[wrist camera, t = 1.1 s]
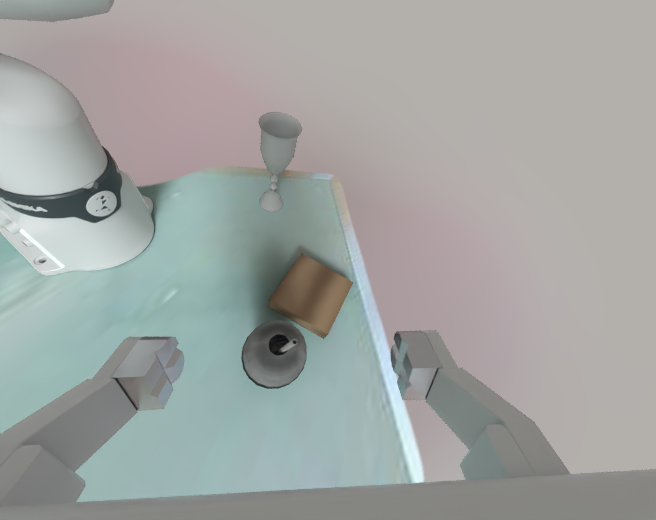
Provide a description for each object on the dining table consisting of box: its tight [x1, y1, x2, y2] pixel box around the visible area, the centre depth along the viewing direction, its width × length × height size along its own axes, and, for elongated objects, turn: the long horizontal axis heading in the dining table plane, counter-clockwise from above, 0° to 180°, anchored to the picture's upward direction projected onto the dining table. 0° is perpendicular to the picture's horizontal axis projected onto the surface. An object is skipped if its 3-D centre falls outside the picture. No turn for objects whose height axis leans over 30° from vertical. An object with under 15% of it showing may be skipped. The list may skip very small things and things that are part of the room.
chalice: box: [259, 112, 302, 212], centre depth 48 cm, size 7×7×18 cm
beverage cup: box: [242, 320, 306, 389], centre depth 30 cm, size 7×7×20 cm
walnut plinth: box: [268, 253, 353, 339], centre depth 45 cm, size 11×11×3 cm
